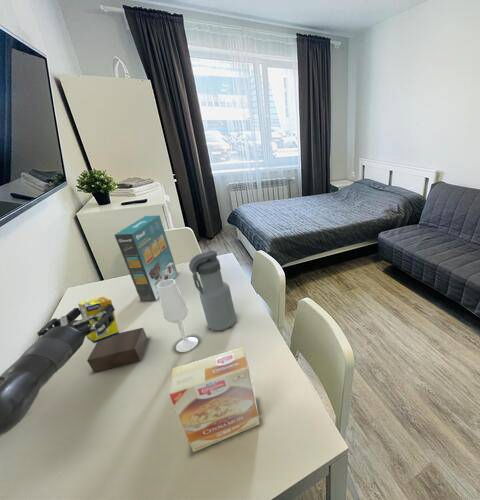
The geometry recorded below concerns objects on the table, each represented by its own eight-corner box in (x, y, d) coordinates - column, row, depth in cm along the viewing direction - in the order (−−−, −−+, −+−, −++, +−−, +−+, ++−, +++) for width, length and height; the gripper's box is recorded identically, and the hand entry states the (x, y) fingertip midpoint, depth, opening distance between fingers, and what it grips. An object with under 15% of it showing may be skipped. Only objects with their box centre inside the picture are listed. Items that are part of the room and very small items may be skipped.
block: (93, 372, 80) (86, 360, 78) (105, 348, 89) (99, 337, 86) (140, 360, 84) (134, 348, 82) (147, 338, 92) (143, 327, 90)
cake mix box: (164, 274, 132) (145, 216, 119) (177, 273, 132) (159, 215, 119) (141, 301, 112) (114, 234, 99) (156, 300, 113) (131, 233, 100)
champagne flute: (191, 334, 94) (172, 275, 83) (202, 342, 90) (183, 281, 80) (171, 346, 89) (148, 285, 79) (182, 355, 85) (159, 292, 75)
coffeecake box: (192, 453, 60) (167, 395, 51) (193, 423, 66) (171, 367, 57) (260, 425, 65) (248, 368, 57) (256, 400, 71) (244, 344, 63)
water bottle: (212, 336, 93) (192, 265, 81) (203, 322, 99) (183, 254, 87) (240, 323, 99) (226, 254, 87) (230, 310, 105) (215, 245, 93)
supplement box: (119, 334, 79) (111, 299, 77) (94, 344, 74) (84, 307, 72) (112, 329, 82) (104, 295, 80) (86, 338, 78) (77, 303, 75)
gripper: (80, 334, 61) (118, 294, 76) (6, 343, 59) (60, 300, 73) (93, 358, 64) (127, 315, 79) (24, 368, 62) (72, 322, 77)
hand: (95, 308), depth 76 cm, fingers closed on supplement box, 8 cm apart
